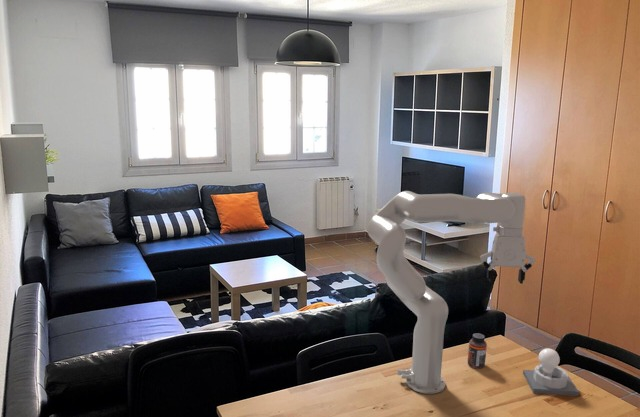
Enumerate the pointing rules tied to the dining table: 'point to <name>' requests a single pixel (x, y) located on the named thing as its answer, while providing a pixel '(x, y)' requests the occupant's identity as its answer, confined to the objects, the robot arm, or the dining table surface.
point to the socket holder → (550, 382)
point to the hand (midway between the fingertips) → (505, 281)
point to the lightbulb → (548, 361)
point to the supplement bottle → (477, 351)
